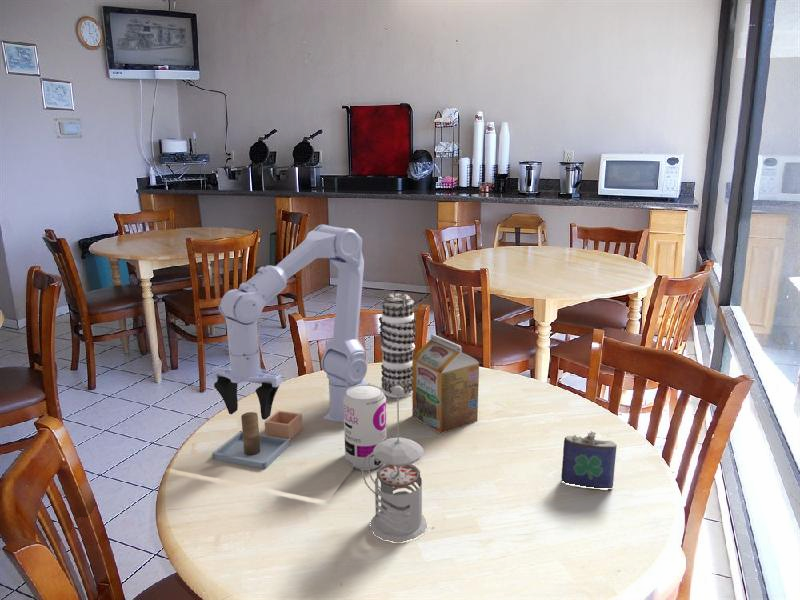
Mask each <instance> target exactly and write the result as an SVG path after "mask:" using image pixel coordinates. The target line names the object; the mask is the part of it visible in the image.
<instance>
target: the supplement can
mask: <svg viewBox="0 0 800 600" xmlns="http://www.w3.org/2000/svg"><path fill="white" fill-rule="evenodd" d="M382 389H383V388H382V387H380V386H379V385H375V384H371V385H369V384H362V385H356V386H353V387H350V388H349V389H348V390H347V392H346V395H345V397H344V399H343V405H344V422H343V428H344V429H343V430H344V453H345V454H344V456H345V462H346V463H347V464H348V465H349V466H350V467H353V469H357V470H360V471H362V463H363V461H364V459H365V457H367V456H368V455H370V454H371V453H372V452H373V451H374V448H375V447H376V445H377V444H379V443H381V442H383V441H385V440H387V439H388V438H387V437H388V436H387V396H386V395H384V394H383V391H382ZM368 458H369V457H368ZM368 458H367V459H366V460H365V462H364V465H363V470H364V471H368ZM377 460H378V459H377ZM383 464H384V463H383V462H381V461H376V460H375V456H374V455H372V456H371V457H370V460H369V469H370V470H375V469H378V468H380V467H382V466H383Z"/></svg>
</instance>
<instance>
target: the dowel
mask: <svg viewBox="0 0 800 600" xmlns="http://www.w3.org/2000/svg"><path fill="white" fill-rule="evenodd" d="M240 418H241V428H242V429H241V431H243V444H244V453H245V454H246V455H250V456H251V455H256V454H258V453H259V452H260V440H259V434H260V431H259V430H260V429H259V415H258V413H257V412H254V411H249V412H245V413H243V414H242V415H241V417H240Z"/></svg>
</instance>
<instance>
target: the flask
mask: <svg viewBox="0 0 800 600" xmlns="http://www.w3.org/2000/svg"><path fill="white" fill-rule="evenodd" d="M596 434H597V433H596V432H595V431H590V432H587V436H584V437H582V436H577V435H576V434H574V435H568V436H565V437H564V439H563V450H562V451H563V452H562V453H563V454H562V462H561V463H562V465H561V475H560V476H561V482H562V481H564V482H565V483H569V484H575V485H580V486H586V487H594V488H612V489H613V487H614V481H615V480H614V479H615V478H614V477H615V475H614V474H615V468H616V467H615V466H616V458H617V456H616V455H617V444H616V442H614V441H612V440H601V439H600V440H599V439H595V438H596Z"/></svg>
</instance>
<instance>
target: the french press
mask: <svg viewBox="0 0 800 600" xmlns="http://www.w3.org/2000/svg"><path fill="white" fill-rule="evenodd" d="M403 393H404V391H403V388H402V387H401V386H394V387H393V388H392V394H393V395H397V398H396V400H397V401H396V402H397V404H396V405H397V407H396V408H397V409H396V410H397V412H396V413H397V414H396V415H397V418H396V419H397V421H396V423H397V424H396V425H397V437H390V438H387V440H385V441H383V442H381V443H379V444H377V445H376V447H375V448H374V451H373V452H372V453H371V454H370V455H368V456H367V457H365V459H364V461H363V463H362V470H361V474H362V477H363V481H364V484H365V485H366V486H367V488H368V489H369V491H371V492H372V493H373V494H374V498H375V499H374V500H375V502H374V503H375V507H374V508H375V514H374V515H375V516H374V515H373V516H372V517H371V520H370V521H371V522H370V521H369V530H370V529H371V530H372V531H373V532H374V534H375V535H376V536H378V537H380V538H382V539H383V540H389V541H393V542H403V541H407V540H410V539H414V538H416V537H418V536H419V535H421V534H422V533H424V532H425V529H426V528H427V523H428V522H427V523H426V519H427V518H426V517H425V516H424V514H423V483H422V482H423V480H422V477H421V471H420V469H419V468H418V467H417V466H416V465H414V463H416V462H417V461H420V459H421V458H422V456H423V454H424V448H423V447H422V445H420V444H419V443H418V442H416V441H414V440H412V439H410V438H409V439H408V438H405V437H400V421H399V419H400V410H399V401H400V398H399V395H402V394H403ZM372 455H374V456H375V460H376V461H381V462H383V464H384V465H383V464H382V465H381V466H379V467H378V468H377V471H376V477H375V480H374V479H373V476H372V473H371V471H370V469H369V460H370V457H371V456H372ZM368 457H369V458H368ZM367 458H368V470H367V472H368V474H369V477H370V480H371V481H372V483H373V484H374V490H373V489H372V488H371V486H370V485H369V484H368V483H367V481H366V479H365V478H366V477H365V474H364V471H365V470H363V465H364V462H365V460H366V459H367ZM377 459H378V460H377ZM379 482H380V485H379ZM415 483H416V484H417V485H416V484H415ZM411 485H412V486H411ZM413 487H414V488H415V489H414V488H413ZM400 489H406V490H401V491H397V492H394V491H396V490H400ZM407 490H409V491H411V492H409V491H407ZM379 497H380V498H379ZM379 504H380V505H379ZM379 510H380V511H379ZM422 514H423V515H422ZM425 518H426V519H425ZM370 523H371V524H370ZM370 525H371V526H370ZM427 529H428V528H427ZM371 530H370V531H371ZM372 531H371V532H372ZM425 533H426V532H425ZM374 534H373V535H374ZM376 536H375V537H376Z"/></svg>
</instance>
